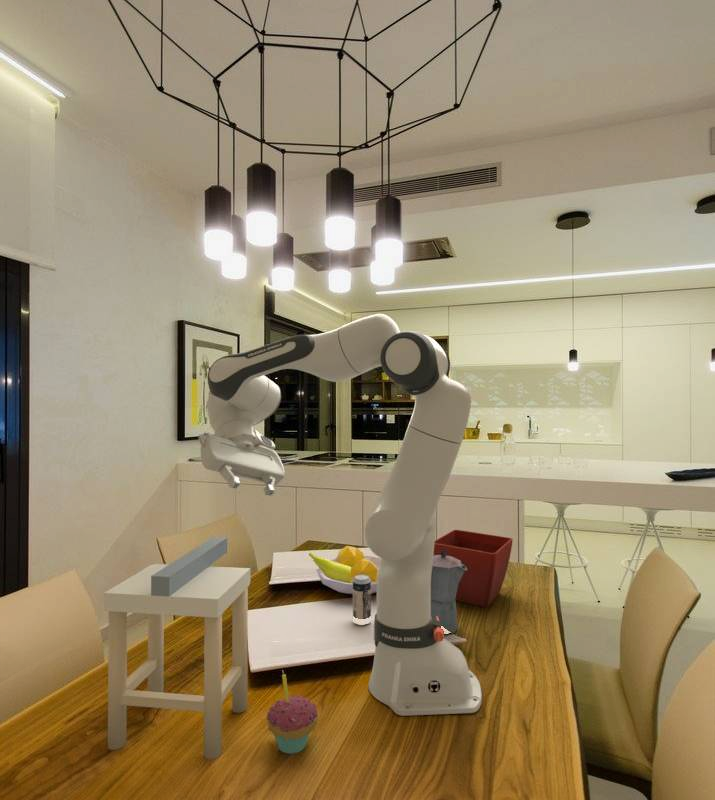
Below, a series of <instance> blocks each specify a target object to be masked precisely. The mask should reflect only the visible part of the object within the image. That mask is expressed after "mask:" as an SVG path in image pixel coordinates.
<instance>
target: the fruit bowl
mask: <svg viewBox="0 0 715 800" xmlns="http://www.w3.org/2000/svg"><path fill="white" fill-rule="evenodd" d="M308 556H309V557H310V558H311V559H312V561H313V562H314V564H315V565H316V566H317V568H316V569H315V570H316V572H317V575H318V577H319V579H320V581H321V583H322V585H324V586H327V587H328V588H330V589H332V590H334V591H337V592H339V593H343V594H347V595H353V579H354V577H355V576H356V575H362V574H364V575H368V576H369V578H370V580H371V595H372V594H375V593H376V594H377V574H378V571H379V567H380V562H381V558H380V557H378V556H371V555H364V553H363V552H362V550H360V549H359V548H358V547H355V546H351V545H350V546H349V545H346V546H344V547H343V548H342V549H341V550H339V551H338V553H337V556H336V557H335V558H332V559H328V558H327V559H326V558H324V557H320V556H315V554H314V553H312V552H310V553H308ZM327 578H330V579H327ZM331 579H333V580H331Z"/></svg>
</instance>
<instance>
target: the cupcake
mask: <svg viewBox="0 0 715 800" xmlns="http://www.w3.org/2000/svg"><path fill="white" fill-rule="evenodd" d="M281 672H282V675H281V678H282V686H283V695H284V697H283V698H282V699H280V700H277V701H276V702H273V705H272V706H271V707H270V708H269V709H268V710H269V711H268V712H267V714H266V720H267V724H268V725H267V726H268V730H269V732H270V733H272V735H273V736H274V738H275V741H276V743H277V747H278V749H279V750H280V752H282V753H284V754H297V753H299V752H301V751H303V750H304V749H305V748H306V746H307V744H308V743H307V742H308V739H309V735H310V734H311V733H313V731H314V730H315V728H316V727H317V724H318V720H319V719H318V718H319V712H318V709H317V706H316V704H315V703H314V702H312V701H311V700H310V699H309V698H305V697H304V696H300V695H291V696H289V690H288V683H287V682H288V681H287V680H288V679H287V674H285V671H284V670H283V669H282V670H281Z"/></svg>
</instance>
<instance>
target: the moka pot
mask: <svg viewBox="0 0 715 800" xmlns="http://www.w3.org/2000/svg"><path fill="white" fill-rule="evenodd" d="M446 553H447V551H445V550H442V551H441V555H435V556H434V555H433V564H432V573H431V615H432V616H433V617H434V618H436V616H438V618H439V622H440V623H441V626H443V627H444V628H445V629H447V630H448V631H450V632H451V633H452V634H454V633H456V632H457V630H458V617H457V602H456V601H457V600H455V598H456V593H457V587H458V583H459V581H460V579H461V577H462V575H463V573H464V572H465V571H467V568H466V567H465V566H464V565H463V564H461V561H460V560H458V559H456V558H454V557H452V556H446ZM436 619H437V618H436Z"/></svg>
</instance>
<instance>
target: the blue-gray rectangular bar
mask: <svg viewBox="0 0 715 800" xmlns="http://www.w3.org/2000/svg"><path fill="white" fill-rule="evenodd" d="M227 553H228V537H223V536H212V537H210V538H209V539H207V540H206V541H204V542H203V543H201V544H200V545H197V547H195V548H193V549H191V550H190V551H189V552H187V553H185V554H184V555H182V556H180V557H179V558H177V559H176V560H174V561H172V562H171V563H168V566H166V567H165V568H163V569H162V570H160V571H158V572H157V573H155V574H154V575H152V576H151V596H171V595H172V594H173V593H175V592H176V591H177V590H179V589H180V588H181V587H183V586H184V585H185V584H186V583H188V582H189V581H190V580H192V579H193V578H194V577H196V576H197V575H198V574H200V573H201V572H202V571H204V570H205V569H206V568H208V567H209V566H211V565H213V564H215V562H217V561H218V560H220V558H222V557H223V556H225V555H226V554H227Z"/></svg>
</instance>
